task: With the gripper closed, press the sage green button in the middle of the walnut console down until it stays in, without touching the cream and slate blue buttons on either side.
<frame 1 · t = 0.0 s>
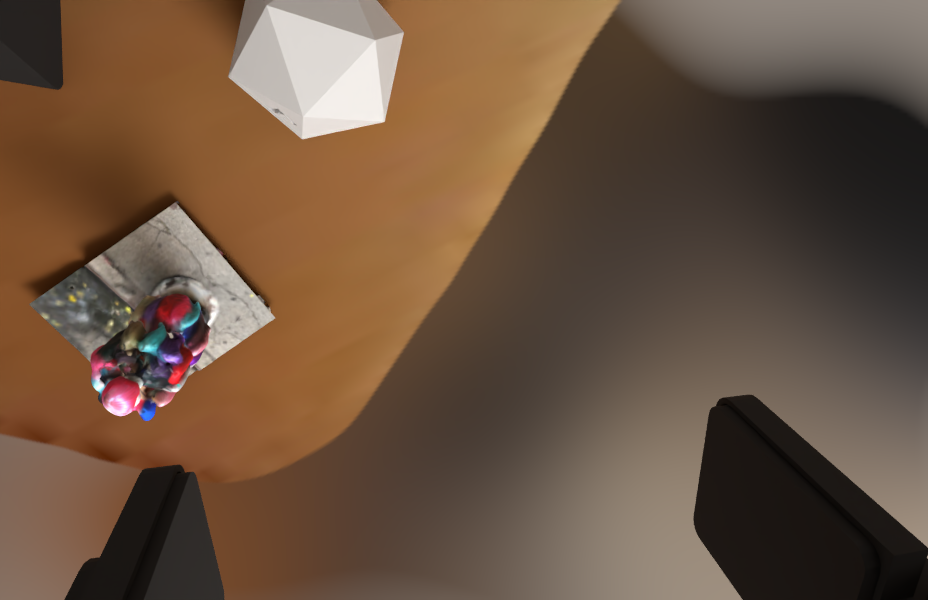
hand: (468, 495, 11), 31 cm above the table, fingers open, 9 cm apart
die: (321, 52, 37), on the table
statue: (162, 303, 41), on the table
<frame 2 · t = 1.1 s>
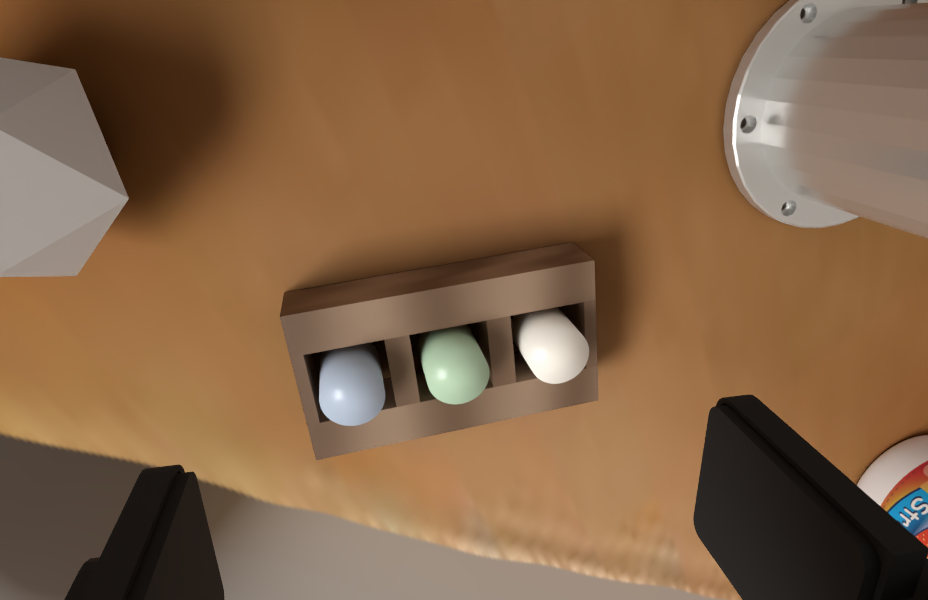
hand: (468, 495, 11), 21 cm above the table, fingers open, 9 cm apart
cream button: (548, 340, 32), point 3 cm above the table, slide at 0.0 cm
slate blue button: (351, 379, 30), point 3 cm above the table, slide at 0.0 cm
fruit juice: (901, 483, 46), on the table
sage button: (451, 359, 31), point 3 cm above the table, slide at 0.0 cm
die: (40, 154, 27), on the table
console: (442, 336, 33), on the table
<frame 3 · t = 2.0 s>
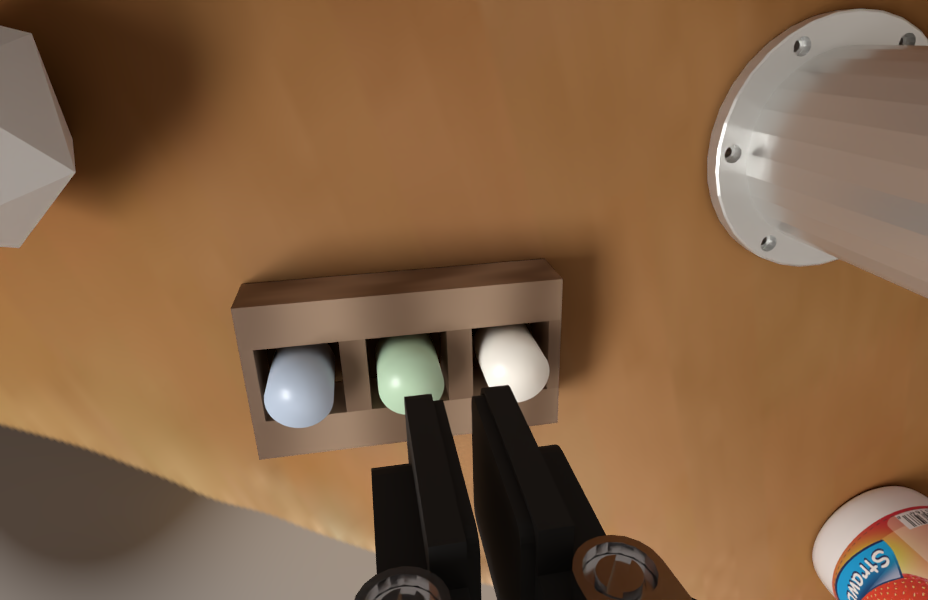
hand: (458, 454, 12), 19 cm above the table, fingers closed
cream button: (509, 357, 31), point 3 cm above the table, slide at 0.0 cm
slate blue button: (301, 379, 29), point 3 cm above the table, slide at 0.0 cm
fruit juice: (865, 532, 45), on the table
sage button: (408, 368, 30), point 3 cm above the table, slide at 0.0 cm
console: (403, 342, 32), on the table
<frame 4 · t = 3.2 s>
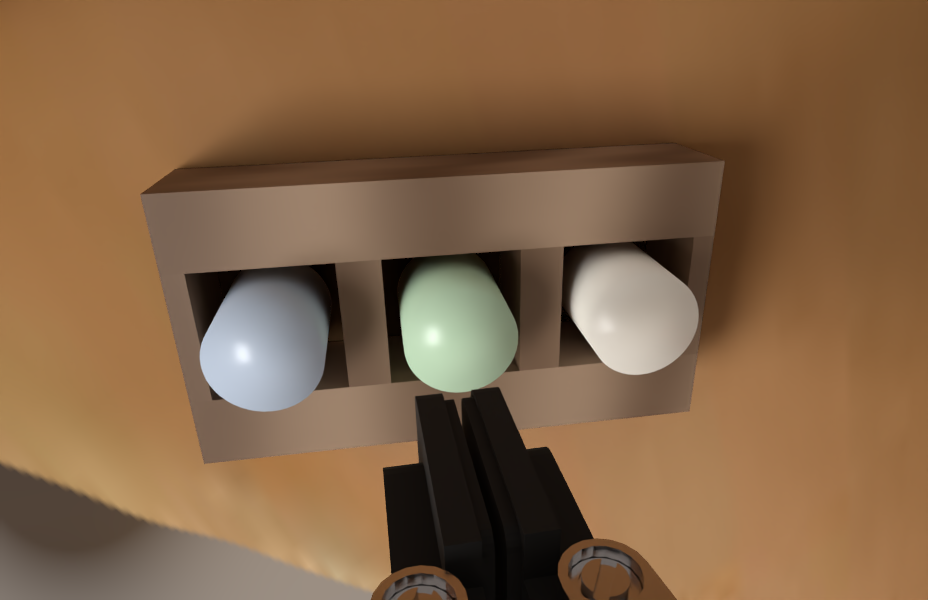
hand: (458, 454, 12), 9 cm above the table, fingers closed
cream button: (621, 300, 18), point 3 cm above the table, slide at 0.0 cm
slate blue button: (272, 329, 17), point 3 cm above the table, slide at 0.0 cm
sage button: (453, 314, 18), point 3 cm above the table, slide at 0.0 cm
console: (442, 279, 20), on the table
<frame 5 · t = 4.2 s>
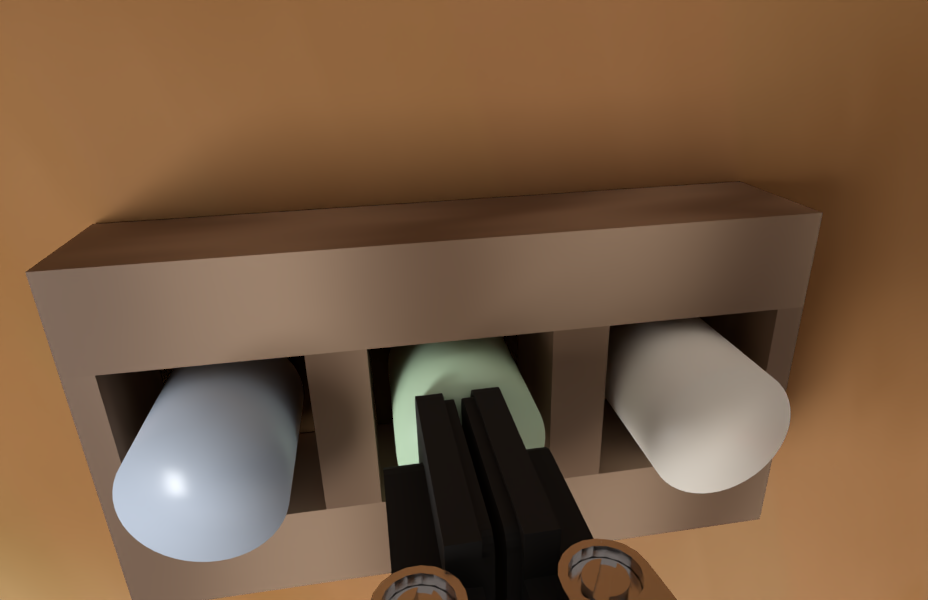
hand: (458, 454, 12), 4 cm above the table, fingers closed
cream button: (680, 388, 14), point 3 cm above the table, slide at 0.0 cm
slate blue button: (222, 440, 13), point 3 cm above the table, slide at 0.0 cm
sage button: (458, 399, 14), point 2 cm above the table, slide at 0.6 cm, touching gripper
console: (445, 354, 16), on the table
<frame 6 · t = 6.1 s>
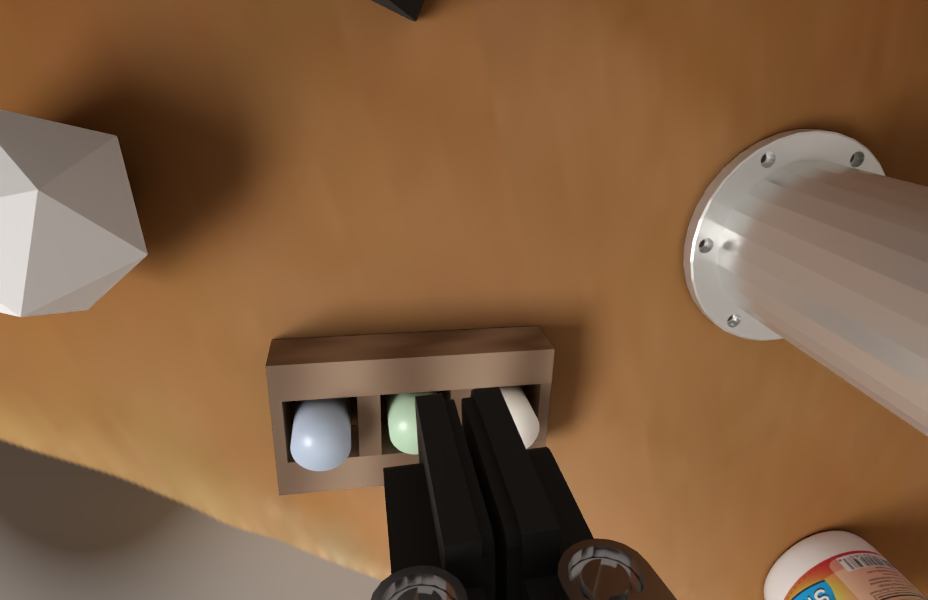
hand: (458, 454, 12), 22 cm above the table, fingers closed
cream button: (504, 413, 35), point 3 cm above the table, slide at 0.0 cm
slate blue button: (322, 427, 33), point 3 cm above the table, slide at 0.0 cm
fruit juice: (812, 571, 50), on the table
sage button: (414, 412, 35), point 2 cm above the table, slide at 0.7 cm
die: (69, 194, 29), on the table
console: (410, 394, 36), on the table
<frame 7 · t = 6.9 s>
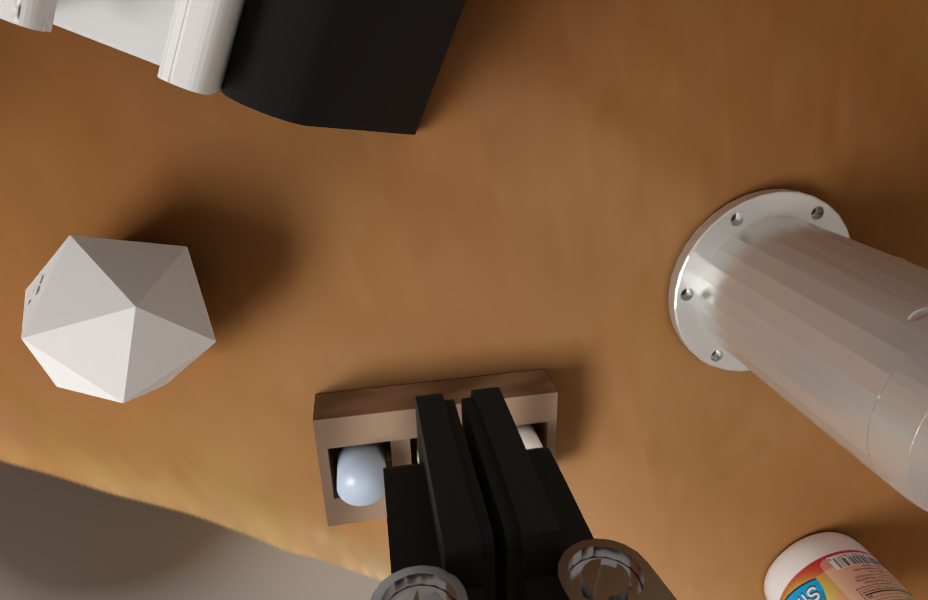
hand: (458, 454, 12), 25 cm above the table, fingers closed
cream button: (517, 447, 40), point 3 cm above the table, slide at 0.0 cm
slate blue button: (361, 467, 39), point 3 cm above the table, slide at 0.0 cm
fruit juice: (808, 568, 54), on the table
sage button: (439, 450, 40), point 2 cm above the table, slide at 0.7 cm
die: (145, 287, 35), on the table
console: (435, 432, 42), on the table
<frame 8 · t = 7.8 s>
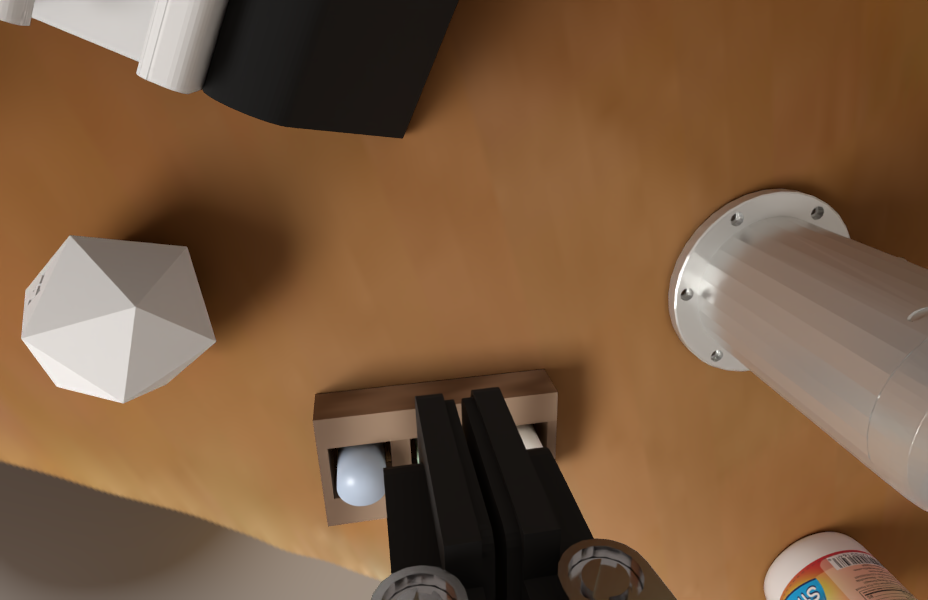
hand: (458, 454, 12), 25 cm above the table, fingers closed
cream button: (517, 447, 40), point 3 cm above the table, slide at 0.0 cm
slate blue button: (361, 467, 39), point 3 cm above the table, slide at 0.0 cm
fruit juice: (808, 568, 54), on the table
sage button: (439, 450, 40), point 2 cm above the table, slide at 0.7 cm
die: (145, 287, 35), on the table
console: (435, 432, 42), on the table
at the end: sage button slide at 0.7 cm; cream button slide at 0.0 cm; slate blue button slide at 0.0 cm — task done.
